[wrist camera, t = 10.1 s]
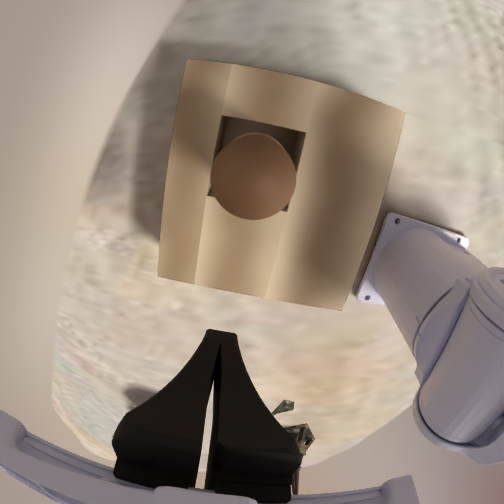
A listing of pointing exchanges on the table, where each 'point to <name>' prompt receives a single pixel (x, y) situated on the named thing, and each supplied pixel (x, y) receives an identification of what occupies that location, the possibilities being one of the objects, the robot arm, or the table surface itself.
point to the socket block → (305, 194)
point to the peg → (253, 177)
